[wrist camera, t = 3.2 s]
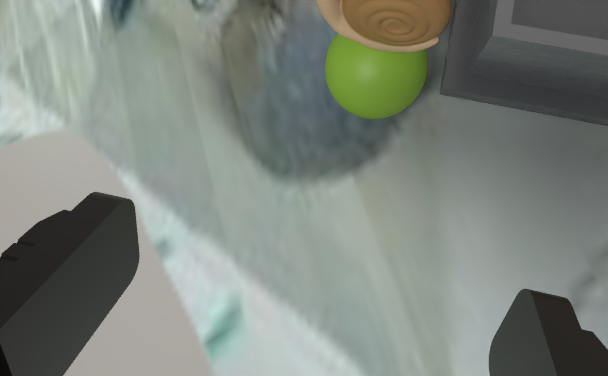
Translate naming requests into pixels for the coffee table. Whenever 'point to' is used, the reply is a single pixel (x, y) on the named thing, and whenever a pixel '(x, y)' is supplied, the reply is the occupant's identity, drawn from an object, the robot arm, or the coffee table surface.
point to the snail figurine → (380, 51)
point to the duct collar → (531, 56)
